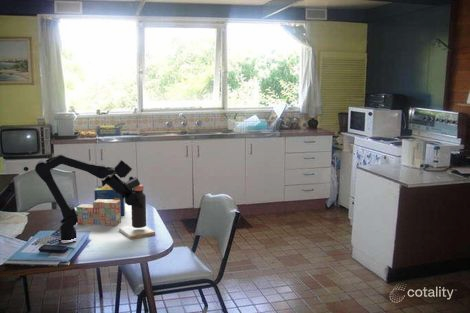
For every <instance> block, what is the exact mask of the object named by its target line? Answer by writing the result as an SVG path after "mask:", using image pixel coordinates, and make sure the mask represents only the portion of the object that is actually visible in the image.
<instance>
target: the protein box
mask: <svg viewBox="0 0 470 313" xmlns="http://www.w3.org/2000/svg"><path fill="white" fill-rule="evenodd" d="M93 190H94V192H93V193H94V194H93V195H94V201H96V200H97V199H108V200H109V199H112V200H120V206H121V207H120V208H121V211H120V212H121V216H124V217H125V214H126V203H125V198H124V199H123V198H122V197H121V196H120V195H119V194H118V193H116V192H115V191H114V190H113V189H112V188H111V187H109V186H108V185H104V186H102V185H96V186H95V188H94V189H93Z"/></svg>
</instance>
